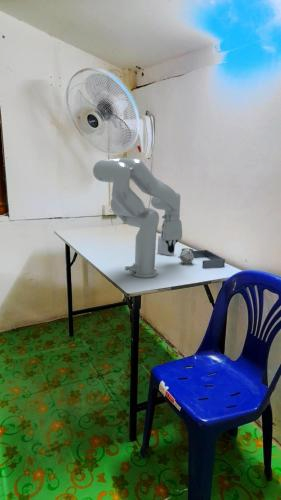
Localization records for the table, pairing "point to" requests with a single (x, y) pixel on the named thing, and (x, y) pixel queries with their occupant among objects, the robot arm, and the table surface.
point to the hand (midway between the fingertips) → (170, 252)
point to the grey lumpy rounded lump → (186, 256)
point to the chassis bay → (214, 259)
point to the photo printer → (163, 247)
